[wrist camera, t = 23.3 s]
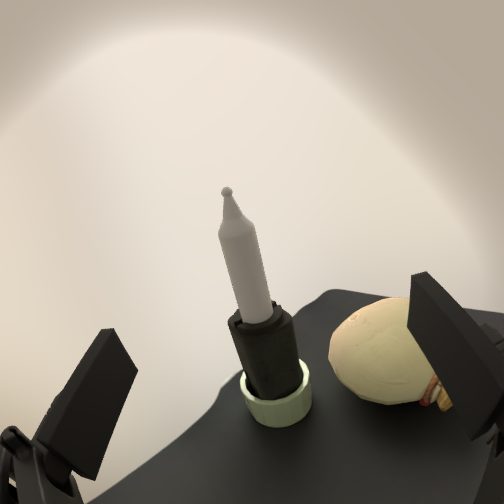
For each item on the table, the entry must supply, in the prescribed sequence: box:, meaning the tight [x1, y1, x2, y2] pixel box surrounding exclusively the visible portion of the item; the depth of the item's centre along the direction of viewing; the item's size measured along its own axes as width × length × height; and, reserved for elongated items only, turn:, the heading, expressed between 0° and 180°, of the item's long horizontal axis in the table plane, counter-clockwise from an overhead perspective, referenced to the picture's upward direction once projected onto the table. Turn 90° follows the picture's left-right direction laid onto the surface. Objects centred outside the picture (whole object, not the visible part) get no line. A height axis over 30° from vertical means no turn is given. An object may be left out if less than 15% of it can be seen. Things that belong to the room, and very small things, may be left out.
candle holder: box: [240, 359, 312, 428], centre depth 30 cm, size 8×8×5 cm
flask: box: [328, 297, 453, 411], centre depth 27 cm, size 9×16×18 cm
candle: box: [218, 187, 303, 401], centre depth 26 cm, size 5×5×25 cm
